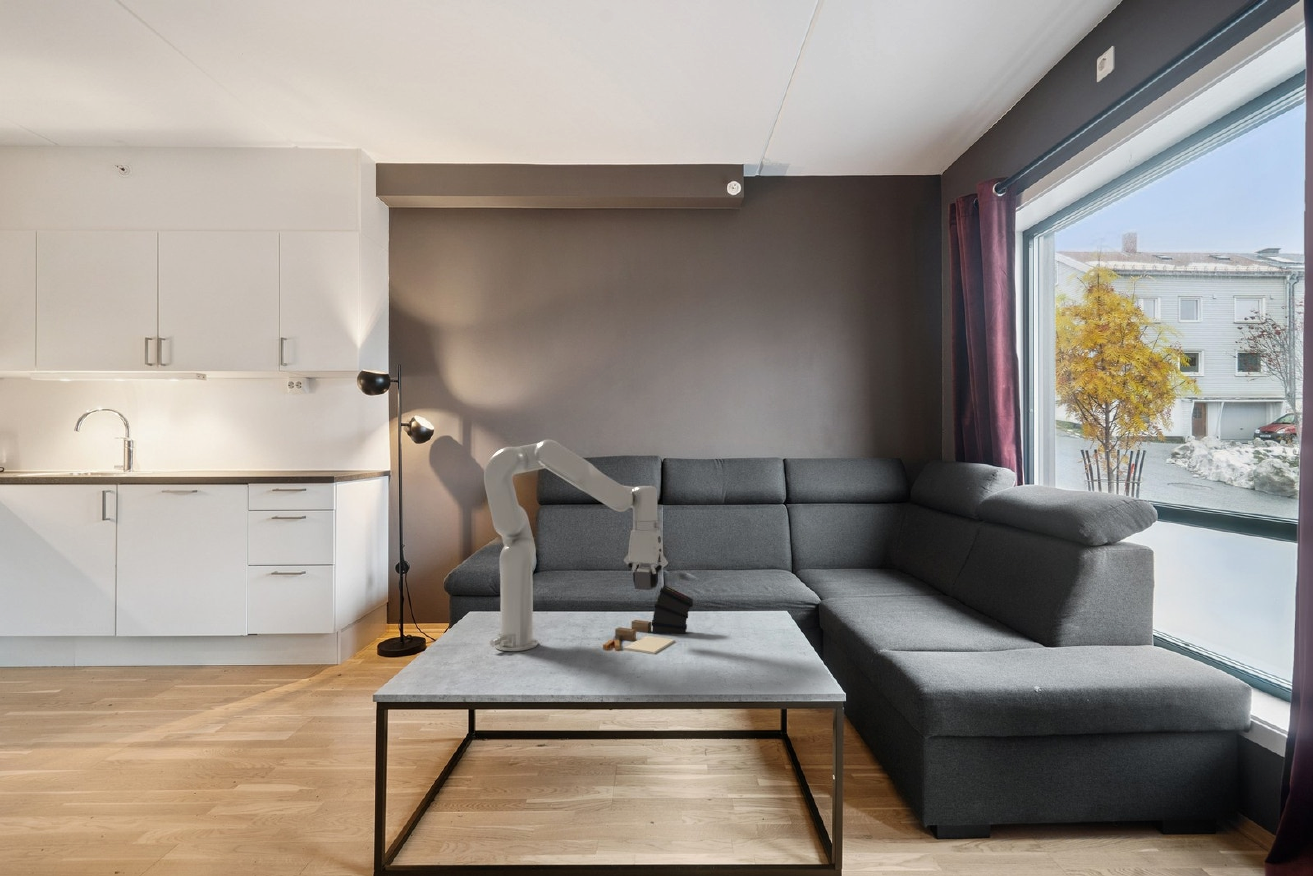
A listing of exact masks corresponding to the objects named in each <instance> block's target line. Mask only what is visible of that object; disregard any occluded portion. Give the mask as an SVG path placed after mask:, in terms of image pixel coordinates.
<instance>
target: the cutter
mask: <svg viewBox="0 0 1313 876" xmlns="http://www.w3.org/2000/svg"><path fill="white" fill-rule="evenodd" d="M620 641H622V640H621V636H615V635H614V636H613V638H612V639H611V638H610V640H608V641H607V642H605V643H604V644H602V650H603V651H608V650H610V649H611V648H612V647H614V651H621V649H620V648H621V647H620Z"/></svg>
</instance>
